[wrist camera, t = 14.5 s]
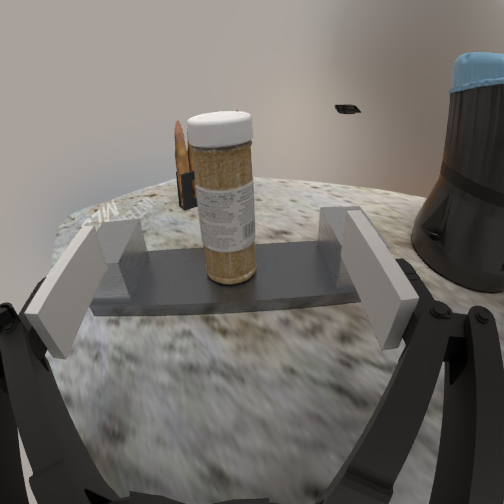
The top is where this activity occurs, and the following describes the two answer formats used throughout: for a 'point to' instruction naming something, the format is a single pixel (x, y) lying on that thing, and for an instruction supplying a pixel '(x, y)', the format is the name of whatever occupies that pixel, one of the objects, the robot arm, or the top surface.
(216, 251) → the sprinkles bottle
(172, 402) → the top surface
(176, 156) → the ammunition clip
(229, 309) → the rail
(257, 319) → the top surface
